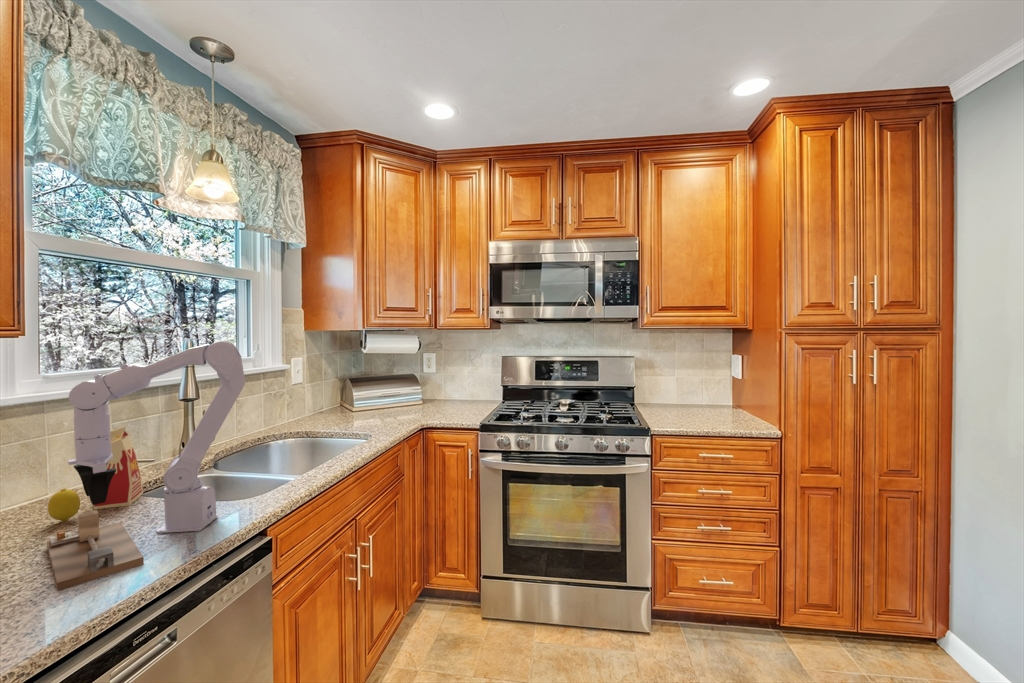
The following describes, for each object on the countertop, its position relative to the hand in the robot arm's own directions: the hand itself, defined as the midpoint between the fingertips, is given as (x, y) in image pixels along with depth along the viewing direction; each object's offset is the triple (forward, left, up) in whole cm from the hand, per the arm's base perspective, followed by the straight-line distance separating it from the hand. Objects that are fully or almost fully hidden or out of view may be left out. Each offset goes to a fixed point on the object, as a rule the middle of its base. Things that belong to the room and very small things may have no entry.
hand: (95, 498), depth 99 cm
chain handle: (-1, +6, -8) cm, 10 cm away
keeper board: (-4, +7, -9) cm, 12 cm away
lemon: (+16, -12, -10) cm, 22 cm away
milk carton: (+13, -24, -10) cm, 29 cm away
